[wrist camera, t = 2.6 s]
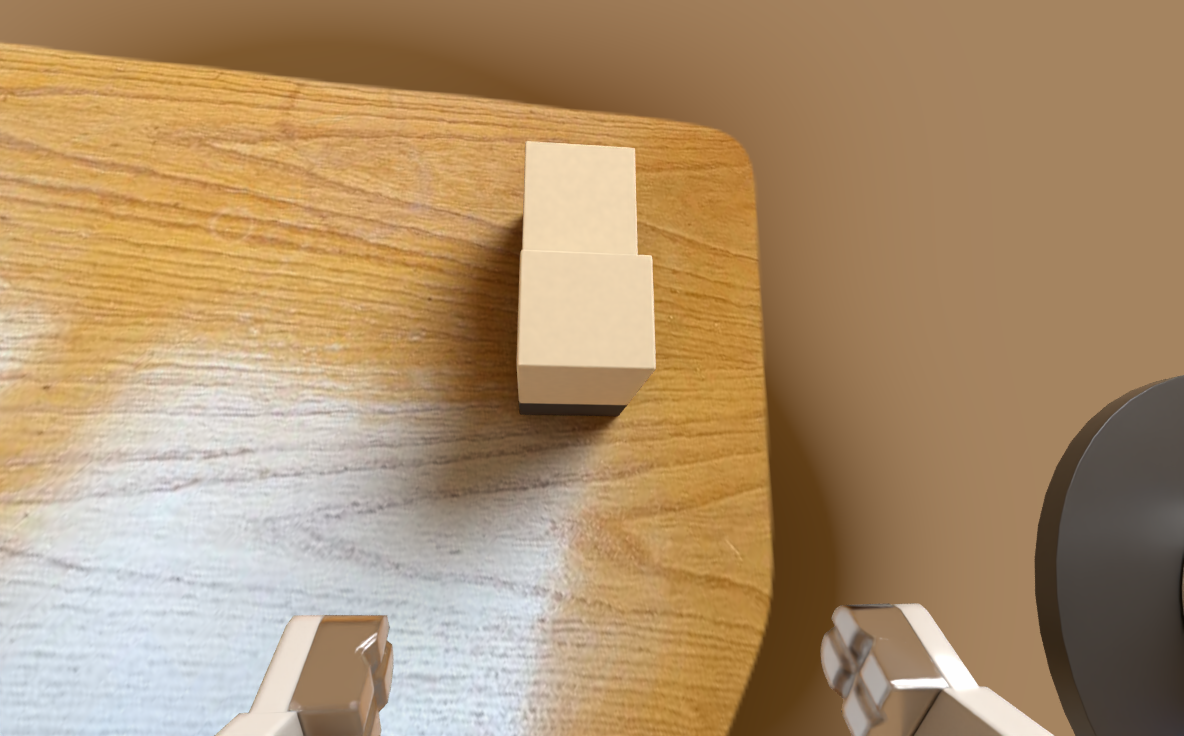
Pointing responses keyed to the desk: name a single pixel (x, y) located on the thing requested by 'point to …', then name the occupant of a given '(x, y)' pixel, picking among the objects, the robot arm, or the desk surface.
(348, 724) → the robot arm
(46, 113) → the desk surface
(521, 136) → the desk surface
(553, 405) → the stepped cream block
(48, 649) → the desk surface
